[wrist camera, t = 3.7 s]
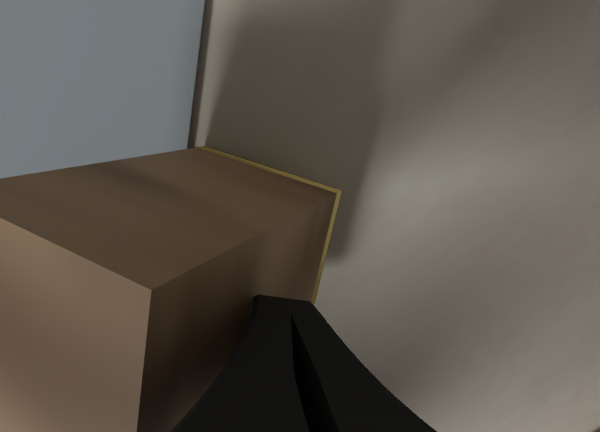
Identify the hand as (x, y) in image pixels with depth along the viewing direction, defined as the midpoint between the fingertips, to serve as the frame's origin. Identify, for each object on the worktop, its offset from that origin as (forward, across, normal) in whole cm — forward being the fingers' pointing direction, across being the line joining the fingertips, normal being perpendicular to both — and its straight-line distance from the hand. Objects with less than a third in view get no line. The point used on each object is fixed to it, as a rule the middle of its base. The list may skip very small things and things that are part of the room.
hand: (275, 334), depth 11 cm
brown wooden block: (+5, 0, 0) cm, 5 cm away
